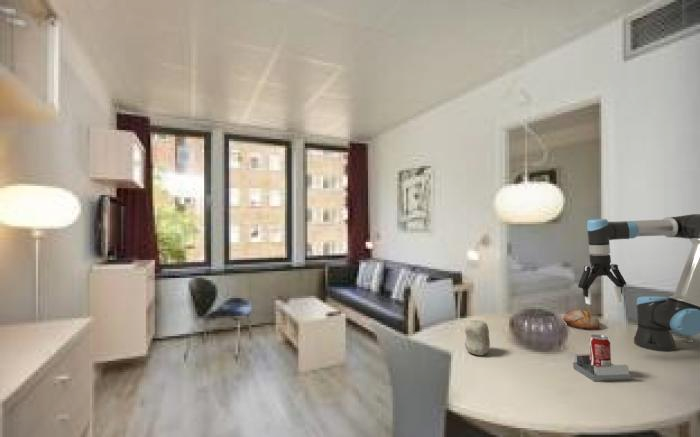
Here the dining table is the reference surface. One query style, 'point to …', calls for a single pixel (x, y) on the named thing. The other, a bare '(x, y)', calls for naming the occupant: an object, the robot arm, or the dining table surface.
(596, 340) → the soda can
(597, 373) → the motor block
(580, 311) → the bread
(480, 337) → the stone
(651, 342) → the robot arm
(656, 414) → the dining table surface
